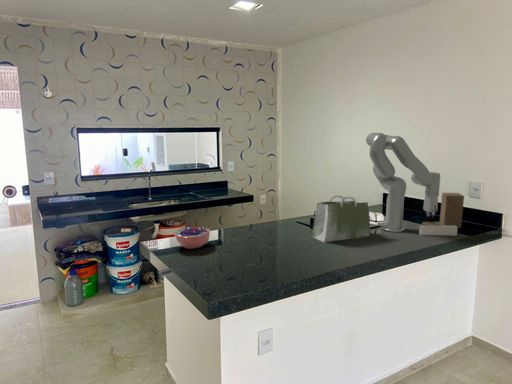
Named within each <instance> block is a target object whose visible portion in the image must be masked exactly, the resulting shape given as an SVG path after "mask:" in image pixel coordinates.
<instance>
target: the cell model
mask: <svg viewBox="0 0 512 384" xmlns="http://www.w3.org/2000/svg"><path fill="white" fill-rule="evenodd" d="M210 232H211V229H210V228H208V227H205V226H198V227H197V226H196V227H192V226H186V227H185V228H180V229H179V230H177V231H176V232H175V233H174V236H175V240H176V241H177V242H178V244H179V245H180V246H181V247H183V248H185V249H187V250H188V249H189V250H191V249H192V250H193V249H195V250H196V249H198V248H201V247H203V246H204V245H205V244H207V243H208V242H209V240H210V235H211V233H210Z"/></svg>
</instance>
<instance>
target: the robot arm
mask: <svg viewBox="0 0 512 384" xmlns="http://www.w3.org/2000/svg"><path fill="white" fill-rule="evenodd" d="M365 143H366V144H367V146H369V158H370V160H371V162H372V163H373V167H372V171H373V172H372V173H373V174H374V176H375V178H376V179H377V181H378V182H379V183H380V185H381V187H382V188H383V189H384V190H386V191H388V193H387V197H386V208H385V211H386V212H385V220H384V221H382V222H381V221H379V222H376V225H377V226H380V227H382V230H384V231H387V232H392V233H401V232H404V231H405V230H406V229H405V227H403V223H404V222H403V221H404V220H403V219H404V207H405V206H404V205H405V203H404V202H405V195H406V193H407V192H406V190H407V182H406V181H405V180H404V179H403V178H401V177H400V176H396V175H395V173H396V169H395V167H394V165H393V164H392V162H391V161H390V159H389V157H388V156H387V153H386V151H392V152H393V153H394V155H395V156H396V158H397V159H398V161H399V162H400V164H402V166H403V167H404V168H407V169H408V170H410V172H412V174H411V177H410V180H411V181H412V183H413V184H415V185H419V186H422V187H425V189H424V198H423V199H424V200H423V207H422V209H423V211H425V212H426V221H425V222H434V216H436V213H438V206H439V205H438V204H439V203H438V202H439V195H440V184H441V173H439V172H435V171H433V172H431V171H429V169H428V167H427V166H426V165H425V164H424V163H423V162H422V161H421V160H420V159H419V158H418V157H417V156H416V155H415V154H414V152H413V151H412V149H411V148H410V147H409V145H408V144H407V141H406V140H405V138H403V137H402V136H399V135H390V134H389V135H388V134H384V133H383V132H371V133H369V134H368V135H367V136H366V138H365ZM385 150H386V151H385Z"/></svg>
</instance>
